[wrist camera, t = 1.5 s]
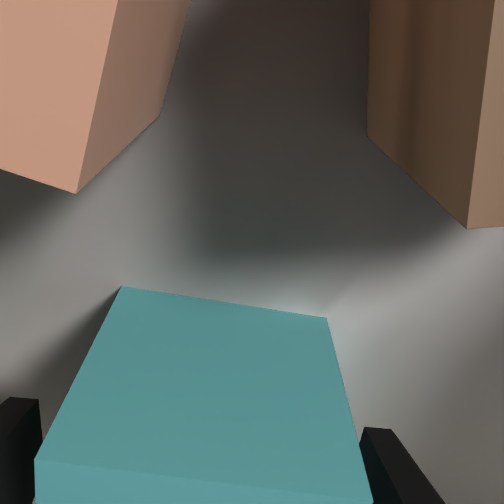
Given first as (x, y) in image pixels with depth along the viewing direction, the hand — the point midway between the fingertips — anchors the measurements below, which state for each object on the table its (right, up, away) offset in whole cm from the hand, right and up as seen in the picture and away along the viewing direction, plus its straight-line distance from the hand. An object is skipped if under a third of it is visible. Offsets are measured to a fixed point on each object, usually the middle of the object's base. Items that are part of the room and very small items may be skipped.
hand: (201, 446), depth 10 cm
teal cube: (0, +1, +2) cm, 2 cm away
